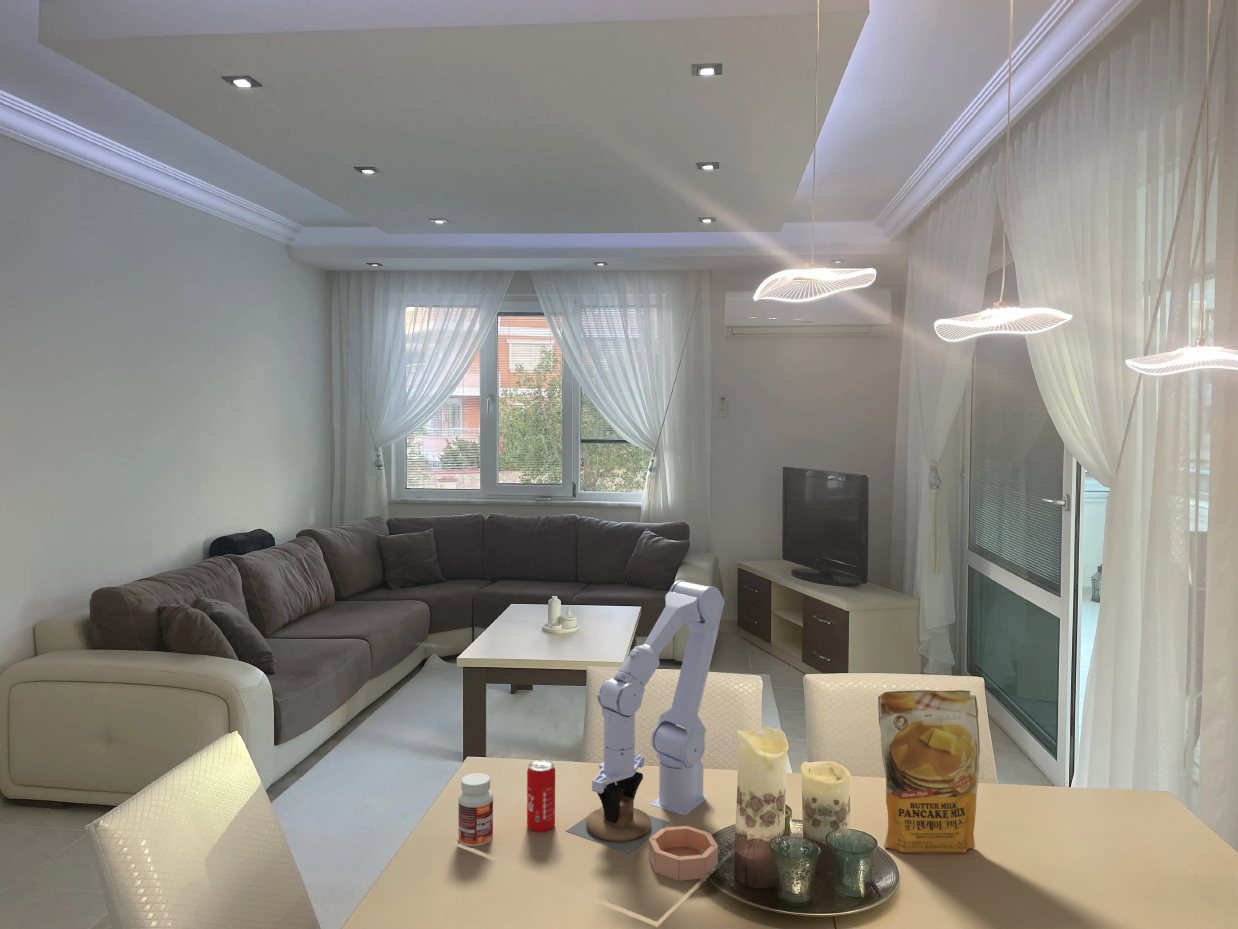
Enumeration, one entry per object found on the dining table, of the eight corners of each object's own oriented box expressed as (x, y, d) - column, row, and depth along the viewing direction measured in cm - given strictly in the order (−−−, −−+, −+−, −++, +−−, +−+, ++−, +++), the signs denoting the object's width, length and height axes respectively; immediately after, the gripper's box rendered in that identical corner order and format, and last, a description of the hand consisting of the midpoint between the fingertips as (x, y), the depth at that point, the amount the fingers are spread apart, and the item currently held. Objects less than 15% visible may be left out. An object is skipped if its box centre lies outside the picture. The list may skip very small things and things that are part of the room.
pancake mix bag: (868, 836, 152) (872, 686, 151) (971, 836, 152) (976, 687, 151) (880, 855, 146) (884, 698, 144) (988, 855, 146) (993, 699, 144)
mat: (608, 805, 163) (608, 802, 163) (669, 825, 156) (669, 822, 156) (565, 834, 152) (565, 831, 152) (629, 857, 144) (629, 853, 144)
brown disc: (610, 805, 162) (610, 780, 162) (662, 822, 155) (662, 796, 155) (573, 830, 152) (573, 803, 152) (627, 849, 145) (628, 821, 145)
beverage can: (550, 837, 151) (550, 772, 150) (523, 834, 152) (523, 770, 151) (558, 823, 156) (558, 761, 155) (531, 820, 157) (532, 758, 156)
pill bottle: (481, 851, 145) (481, 788, 145) (451, 844, 148) (451, 782, 147) (499, 836, 151) (499, 775, 150) (470, 829, 153) (470, 769, 153)
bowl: (671, 842, 149) (671, 820, 149) (726, 860, 143) (726, 838, 143) (638, 869, 140) (638, 846, 140) (695, 890, 134) (696, 866, 134)
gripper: (622, 728, 161) (622, 796, 162) (578, 752, 149) (578, 826, 150) (653, 736, 157) (652, 806, 158) (610, 761, 145) (610, 837, 146)
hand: (618, 816), depth 154 cm, fingers closed on brown disc, 4 cm apart
